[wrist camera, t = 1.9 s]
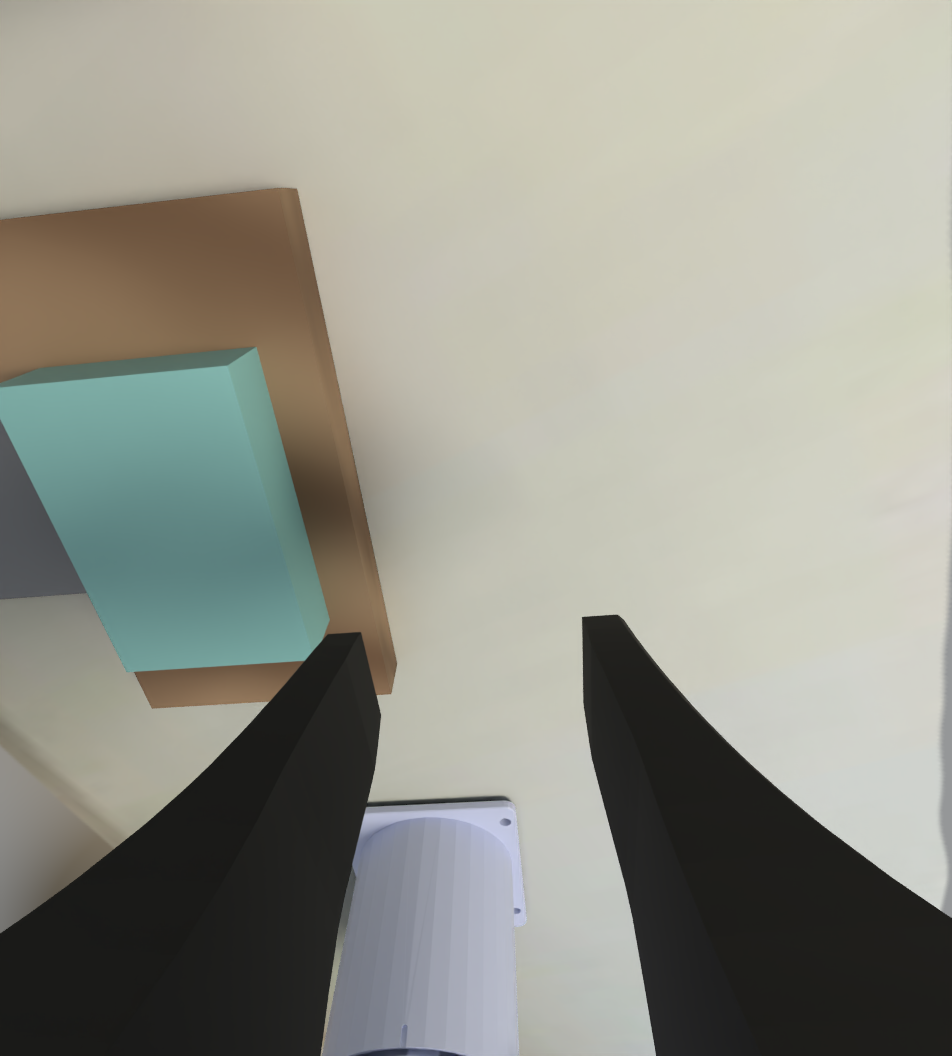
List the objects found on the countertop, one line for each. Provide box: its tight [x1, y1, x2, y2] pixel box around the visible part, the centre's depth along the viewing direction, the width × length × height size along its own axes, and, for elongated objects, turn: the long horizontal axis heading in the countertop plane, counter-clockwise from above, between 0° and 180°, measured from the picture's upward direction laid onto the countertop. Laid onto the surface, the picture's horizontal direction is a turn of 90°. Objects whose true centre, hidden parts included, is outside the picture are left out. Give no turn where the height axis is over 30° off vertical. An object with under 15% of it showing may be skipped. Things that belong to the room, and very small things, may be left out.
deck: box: [0, 188, 397, 708], centre depth 19 cm, size 16×9×2 cm, turn 6°
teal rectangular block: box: [0, 347, 330, 672], centre depth 17 cm, size 9×6×2 cm, turn 6°
